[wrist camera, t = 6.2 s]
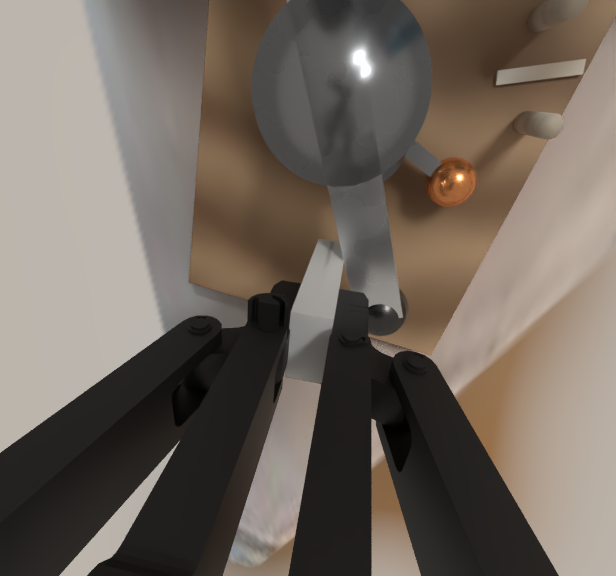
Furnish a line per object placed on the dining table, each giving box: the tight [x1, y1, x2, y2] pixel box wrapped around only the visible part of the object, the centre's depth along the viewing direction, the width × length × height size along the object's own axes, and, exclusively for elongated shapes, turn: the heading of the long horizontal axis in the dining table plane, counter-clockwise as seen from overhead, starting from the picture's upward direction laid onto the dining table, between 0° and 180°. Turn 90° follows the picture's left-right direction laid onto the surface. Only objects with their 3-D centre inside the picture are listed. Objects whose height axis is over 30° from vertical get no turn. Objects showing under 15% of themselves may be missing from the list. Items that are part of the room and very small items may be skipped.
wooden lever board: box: [189, 0, 616, 355], centre depth 19 cm, size 22×18×5 cm
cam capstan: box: [252, 0, 477, 337], centre depth 14 cm, size 21×8×7 cm, turn 14°
